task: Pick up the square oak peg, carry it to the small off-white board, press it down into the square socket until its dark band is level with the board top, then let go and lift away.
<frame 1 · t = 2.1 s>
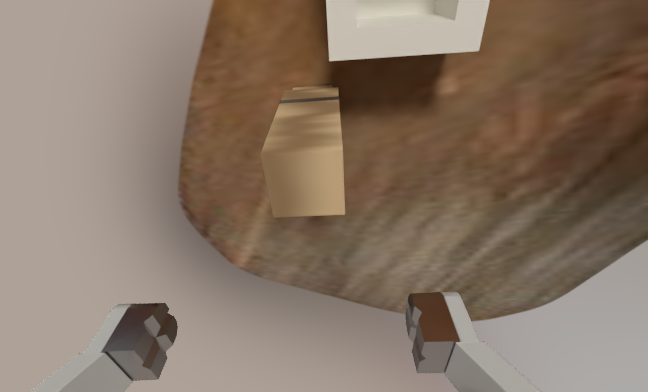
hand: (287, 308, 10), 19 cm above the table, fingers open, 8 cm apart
oak peg: (314, 105, 25), on the table
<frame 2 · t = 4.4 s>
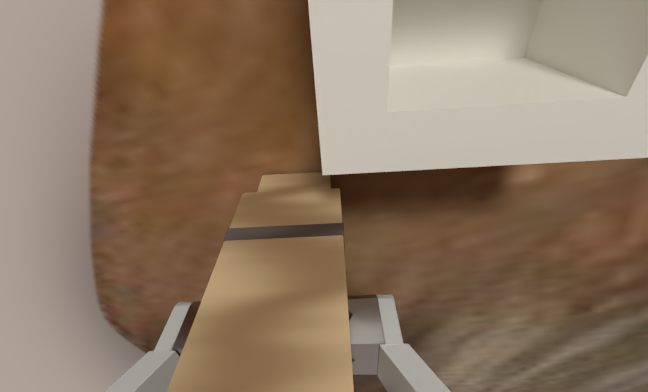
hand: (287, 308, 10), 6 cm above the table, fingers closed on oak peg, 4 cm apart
oak peg: (299, 200, 15), on the table, touching gripper
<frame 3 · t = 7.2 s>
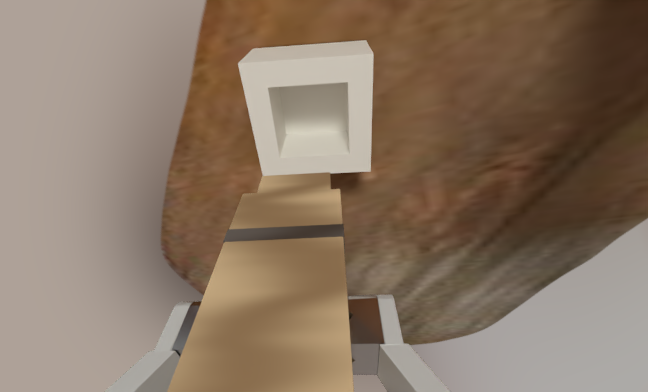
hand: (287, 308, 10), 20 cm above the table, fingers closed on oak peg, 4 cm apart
socket board: (313, 100, 27), on the table
oak peg: (300, 201, 15), point 14 cm above the table, touching gripper
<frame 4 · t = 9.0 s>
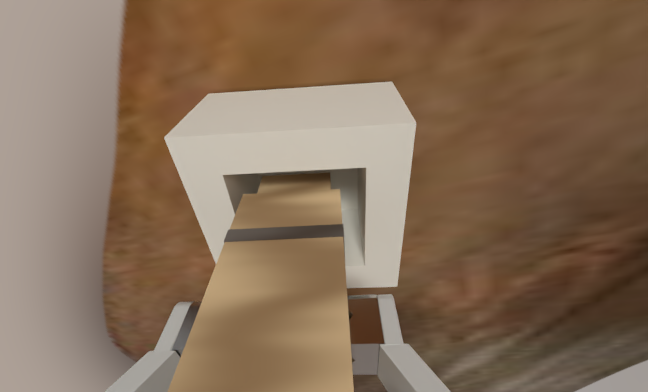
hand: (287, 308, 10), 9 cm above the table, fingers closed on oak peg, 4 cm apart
socket board: (308, 167, 17), on the table
oak peg: (300, 201, 15), point 3 cm above the table, touching gripper
when the fingers open (7 cm above the table, at t = 10.4 s): oak peg stays where it is, resting on socket board.
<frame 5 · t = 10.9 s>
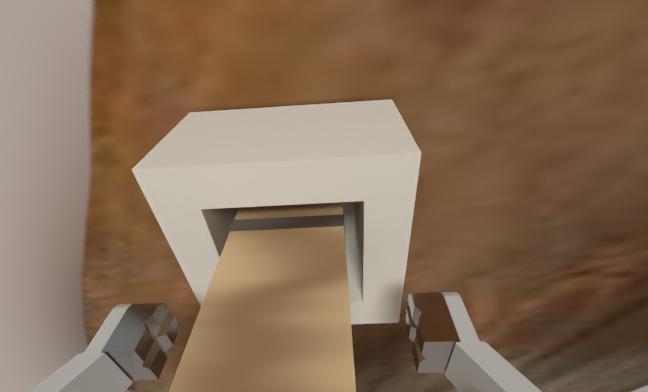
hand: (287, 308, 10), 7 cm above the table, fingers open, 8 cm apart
socket board: (300, 189, 16), on the table
oak peg: (301, 195, 16), resting on socket board
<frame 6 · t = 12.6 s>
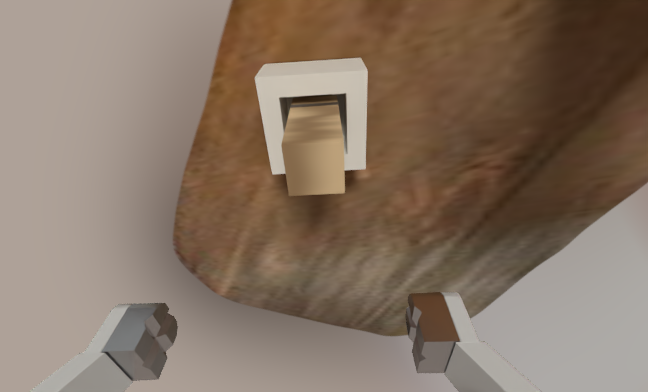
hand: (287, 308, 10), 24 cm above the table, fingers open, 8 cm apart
socket board: (315, 108, 31), on the table
oak peg: (316, 110, 30), resting on socket board
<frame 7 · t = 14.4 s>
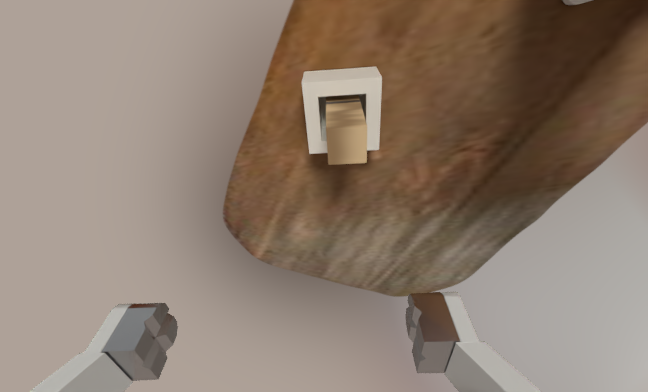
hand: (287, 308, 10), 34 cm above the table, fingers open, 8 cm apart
socket board: (341, 104, 41), on the table
oak peg: (342, 105, 40), resting on socket board
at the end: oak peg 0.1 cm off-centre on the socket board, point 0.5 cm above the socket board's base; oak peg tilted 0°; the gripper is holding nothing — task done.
